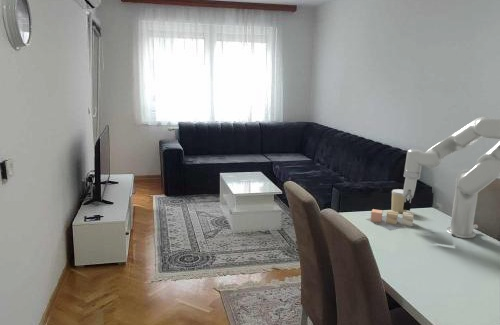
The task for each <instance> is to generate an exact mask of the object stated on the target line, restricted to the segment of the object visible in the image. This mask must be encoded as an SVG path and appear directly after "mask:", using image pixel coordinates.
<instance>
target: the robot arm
mask: <svg viewBox="0 0 500 325" xmlns="http://www.w3.org/2000/svg"><path fill="white" fill-rule="evenodd" d="M483 138H485V139H493V140H494V139H495V140H499V141H497V143H496V144H495V145H493V146H492V147H491V148H490V149H488V151H487V152H485V153H483V154H482V155H481V156H479V157H478V158H477V160H476V163H475V166H474V167H473V168H471V169H470V168H465V169H463V170H460V172H459V173H458V174H457V175H456V178H455V189H454V197H453V205H452V212H451V219H450V226H449V227H446V229H445V230H446V232H448V233H449V234H451V236H453V237H456V238H460V239H474V238H475V237H476V234H477V233H476V232H474V229H475V230H476V229H478V228H479V225H478V224H475V223H474V222H475V217H476V216H475V215H476V208H477V204H478V194H479V193H480V192H481V191H482V190H483V189H485V188H486V187H488V186H489V185H490V184H491V183H493V182H494V181H495V180H496V179H498V177H500V119H498V118H497V119H496V118H489V117H486V116H480V117H477V118H475V119H473V120H472V121H470V122H469V123H468V124H466V125H465V126H464V127H462V128H461V129H458V130H457V131H455V132H454V133H452V134H451V135H449V136H447V137H446V138H445V139H443V140H441V141H439V142H438V143H436V144H435V145H433V146H432V147H430V148H429V149H428V150H426V151H425V152H424V151H423V150H420V149H417V148H416V149H415V148H414V149H413V148H411V149H408V150H407V152H406V158H405V164H404V171H403V177H404V178H405V179H404V184H403V189H402V190H403V197H405V202H404V206H403V210H406V211H409V212H410V211H411V207H412V206H411V205H412V202H413V201H412V199H413V198H414V195H415V191H416V187H417V181H418V180H420V179H421V172H422V167H426V168H429V169H434V168H437V167H439V165H440V164H441V160H443V159H444V158H446V157H447V156H449V155H451V154H453V153H455V152H459V151H463V150H466V149H467V148H469V147H470V146H472V145H474V144H475V143H476V142H477V141H480V140H482V139H483Z"/></svg>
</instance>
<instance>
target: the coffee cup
mask: <svg viewBox="0 0 500 325" xmlns="http://www.w3.org/2000/svg"><path fill="white" fill-rule="evenodd" d="M403 190H404V189H402V188H401V189H399V188H397V189H392V190H391V210H390V211H395V212H398V213H400V214H401V213H402V214H403V212H407V210H403V206H404V202H405V197H403Z"/></svg>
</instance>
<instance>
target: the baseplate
mask: <svg viewBox="0 0 500 325" xmlns="http://www.w3.org/2000/svg"><path fill="white" fill-rule="evenodd" d="M386 217H387V215H382V221H381V223H379V222H373V221H371V217H370V218H365V220H366V221H369V222H371V223H373V224H375V225H378V226H379V227H382V228H383V229H385V230H388V231H394V230H401V229H405V228H410V227H415V226H418V224H417V223H414V222H413V224H412V226H409V225H403V224H402V217H399V216H398V217H397V224H391V223H386Z"/></svg>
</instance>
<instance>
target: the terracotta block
mask: <svg viewBox="0 0 500 325" xmlns="http://www.w3.org/2000/svg"><path fill="white" fill-rule="evenodd" d="M383 213H384V212H383V210H382V209H374V208H373V209H371V213H370V218H371V221H373V222H379V223H381V221H382V216H383ZM371 221H370V222H371ZM373 222H372V223H373Z"/></svg>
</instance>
